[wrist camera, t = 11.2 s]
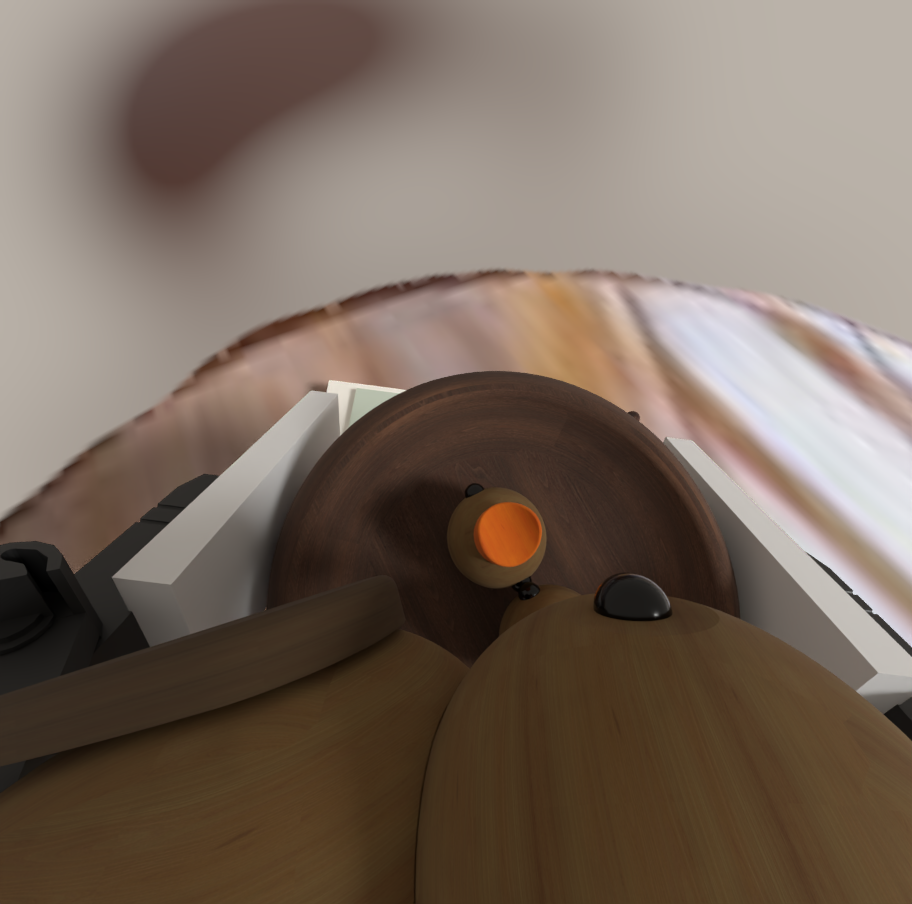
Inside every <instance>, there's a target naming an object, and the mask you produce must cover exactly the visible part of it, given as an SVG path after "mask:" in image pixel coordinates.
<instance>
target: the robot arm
mask: <svg viewBox="0 0 912 904" xmlns="http://www.w3.org/2000/svg"><path fill="white" fill-rule="evenodd" d="M339 436H340V425H339V403H338V394H335V393H327V392H319V391H312V390H311V391H310V392H309V393H308V394H307V395H306V396H305V397H303V398H302V399H301V400H300V401H299V402H298V403H297V404H296V405H295V406H294V407H293V408H292V409H291V410H290V411H289V412H287V413H286V414H285V415H284V416H283V417H282V418H281V419H280V420H279V421H278V422H277V423H276V424H275V425H274V426H273V427H271V428H270V429H269V430H268V431H267V432H266V433H265V434H264V435H263V436H262V437H261V438H260V439H259V440H258V441H257V442H255V443H254V444H253V445H252V446H251V447H250V448H249V449H248V450H247V451H246V452H245V453H244V454H243V455H242V456H241V457H239V458H238V459H237V460H236V461H235V462H234V463H233V464H232V465H231V466H230V467H229V468H228V469H227V470H226V471H225V472H224V473H222V474H221V475H220V476H216V475H208V474H203V475H201V476H199V477H197V478H195V479H193V480H191V481H189V482H187V483H185V484H183V485H181V486H179V487H177V488H176V489H175V490H174V491H172V492H171V493H170V494H169V495H168V496H167V497H165V498H164V499H163V500H162V501H161V502H159V503H158V507H157V508H155V507H154V508H152V509H151V510H150V511H149V512H148V513H146V514H145V515H144V516H143V517H142V518H141V520H140V522H139V523H138V522H136V523H135V524H133V525H132V526H131V527H130V528H129V529H127V530H126V531H125V532H124V533H123V534H122V535H120V536H119V537H118V538H117V539H116V540H114V541H113V542H112V543H111V544H110V545H109V546H107V547H106V548H105V549H104V550H103V551H101V552H100V553H99V554H98V555H97V556H95V557H94V558H93V559H92V560H91V561H90V562H88V563H87V564H86V565H85V566H84V567H82V568H81V569H80V570H79V571H78V572H77V573H75V574H73V572H72V570H71V569H70V567H69V565H68V564H67V562H66V560H65V558H64V557H63V555H62V554H61V553H60V552H59V550H58V549H57V548H56V547H55V546H54V545H51V544H46V543H42V542H37V541H31V542H15V543H8V544H3V545H0V695H3V694H6V693H9V692H12V691H15V690H18V689H21V688H24V687H27V686H31V685H34V684H37V683H40V682H43V681H46V680H49V679H52V678H55V677H59V676H62V675H65V674H68V673H71V672H74V671H77V670H80V669H83V668H86V667H90V666H93V665H96V664H99V663H102V662H105V661H108V660H111V659H115V658H118V657H121V656H124V655H127V654H130V653H133V652H136V651H139V650H143V649H146V648H149V647H152V646H155V645H158V644H161V643H164V642H168V641H171V640H174V639H177V638H180V637H183V636H186V635H189V634H193V633H196V632H199V631H202V630H205V629H208V628H211V627H215V626H218V625H221V624H224V623H227V622H230V621H233V620H237V619H240V618H243V617H246V616H249V615H252V614H255V613H259V612H262V611H264V610H265V608H266V606H267V593H268V584H269V576H270V571H271V565H272V560H273V556H274V552H275V548H276V544H277V541H278V538H279V535H280V532H281V529H282V526H283V523H284V521H285V518H286V516H287V513H288V511H289V509H290V507H291V505H292V502H293V500H294V498H295V497H296V495H297V493H298V491H299V489H300V487H301V486H302V484H303V482H304V481H305V479H306V477H307V476H308V474H309V473H310V471H311V470H312V468H313V467H314V466H315V464H316V463H317V462H318V460H319V459H320V458H321V456H322V455H323V454H324V453H325V452H326V450H327V449H328V448H329V447H330V446H331V445H332V444H333V442H334V441H335V440H336V439H337V438H338V437H339ZM663 443H664V444H665V445H666V446H667V448H668V449H669V450H670V451H671V452H672V453H673V454H674V455H675V456H676V458H677V459H678V460H679V461H680V462H681V464H682V465H683V466H684V468H685V469H686V470H687V472H688V473H689V474H690V476H691V477H692V479H693V480H694V482H695V483H696V485H697V486H698V488H699V489H700V491H701V493H702V494H703V496H704V498H705V499H706V501H707V503H708V505H709V507H710V509H711V511H712V513H713V515H714V517H715V519H716V521H717V523H718V526H719V528H720V530H721V533H722V535H723V538H724V541H725V543H726V546H727V550H728V553H729V556H730V559H731V563H732V567H733V571H734V575H735V580H736V585H737V591H738V598H739V607H740V618H741V620H743V621H745V622H748V623H750V624H752V625H754V626H756V627H758V628H760V629H762V630H764V631H766V632H768V633H770V634H771V635H773V636H775V637H777V638H779V639H781V640H782V641H784V642H786V643H787V644H789V645H791V646H792V647H794V648H796V649H797V650H799V651H801V652H802V653H804V654H805V655H807V656H808V657H810V658H811V659H813V660H814V661H816V662H817V663H819V664H820V665H822V666H823V667H825V668H826V669H827V670H829V671H830V672H831V673H833V674H834V675H835V676H837V677H838V678H839V679H841V680H842V681H844V682H845V683H846V684H848V685H849V686H850V687H851V688H853V689H854V690H855V691H856V692H857V693H859V694H860V695H861V696H862V697H864V698H865V699H866V700H867V701H868V702H870V703H871V704H872V705H873V706H874V707H876V708H877V709H878V710H879V711H880V712H881V713H882V714H883V715H885V716H886V717H887V718H888V719H889V720H890V721H891V722H892V723H893V724H894V725H895V726H897V727H898V728H899V729H900V730H901V731H902V732H903V733H904V734H905V735H906V736H907V737H908V738H909V739H910V740H911V741H912V647H911V646H910V645H909V644H908V643H907V642H906V641H905V640H904V639H902V638H901V637H900V636H899V635H898V634H897V633H896V632H895V631H894V630H893V629H892V628H891V627H890V626H889V625H888V624H887V623H886V622H885V621H884V620H883V619H882V618H881V617H880V616H879V615H878V614H873V613H872V609H871V608H870V607H869V606H868V605H867V604H866V603H865V602H864V601H863V600H862V599H861V598H860V597H859V596H858V595H853V593H852V592H853V590H852V589H851V588H850V587H849V586H848V585H846V584H845V583H844V582H843V581H842V580H841V579H840V578H839V577H838V576H837V575H836V574H835V573H834V572H833V571H832V570H831V569H830V568H828V567H827V566H825V565H824V564H823V563H821V562H820V561H818V560H817V559H815V558H814V557H812V556H811V555H810V554H808V553H807V552H805V551H804V550H803V549H802V548H801V547H800V546H799V545H798V544H797V543H796V542H795V541H794V540H793V539H792V538H791V537H790V536H789V535H788V534H787V533H786V532H785V531H784V530H782V529H781V528H780V527H779V526H778V525H777V524H776V523H775V522H774V521H773V520H772V519H771V518H770V517H769V516H768V515H767V514H766V513H765V512H764V511H763V510H762V509H761V508H760V507H759V506H758V505H757V504H756V503H755V502H754V501H753V500H752V499H751V498H750V497H749V496H748V495H747V494H746V493H745V492H744V491H743V490H742V489H741V488H740V487H739V486H738V485H737V484H736V483H735V482H734V481H733V480H732V479H731V478H730V477H729V476H728V475H727V474H726V473H725V472H724V471H723V470H722V469H721V468H720V467H719V466H718V465H717V464H716V463H715V462H714V461H713V460H712V459H711V458H710V457H709V456H707V455H706V454H705V453H704V452H703V451H702V450H701V449H700V448H699V447H698V446H697V445H696V444H695V443H694V442H693V441H692V440H685V439H677V438H670V437H666V438H665V440H664V442H663ZM58 753H59V752H57V753H53V754H49V755H45V756H42V757H38V758H34V759H30V760H26V761H21V762H17V763H13V764H9V765H4V766H0V793H1V792H3V791H4V790H5V789H7V788H8V787H10V786H11V785H12V784H14V783H15V782H17V781H18V780H20V779H21V778H22V777H24V776H25V775H27V774H28V773H29V772H31V771H32V770H34V769H35V768H37V767H38V766H40V765H41V764H43V763H44V762H46V761H47V760H49V759H50V758H52V757H53V756H55V755H56V754H58Z"/></svg>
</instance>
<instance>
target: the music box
mask: <svg viewBox="0 0 912 904" xmlns="http://www.w3.org/2000/svg"><path fill="white" fill-rule="evenodd" d="M639 420H640V416H639V414H638V413H637V412H634V411H631V412H628V413H627V412H625V411H624V410H622V409H621V408H619V407H617V406H616V405H614V404H612V403H611V402H609V401H607V400H605V399H603V398H602V397H600V396H598V395H595V394H593V393H591V392H589V391H587V390H585V389H582V388H580V387H577V386H575V385H572V384H569V383H566V382H563V381H560V380H556V379H552V378H549V377H544V376H539V375H534V374H528V373H519V372H506V371H485V372H473V373H465V374H458V375H453V376H448V377H444V378H440V379H436V380H433V381H430V382H427V383H424V384H421V385H418V386H416V387H413V388H411V389H408V390H406V391H404V392H402V393H400V394H397V395H396V396H394V397H392V398H390V399H388V400H386V401H385V402H383V403H381V404H380V405H378V406H377V407H375V408H373V409H372V410H371V411H369V412H368V413H366V414H365V415H364V416H362V417H361V418H360V419H359V420H357V421H356V422H355V423H353V424H352V425H351V426H350V427H349V428H348V429H347V430H346V431H345V432H343V433H342V434H341V435H340V436H339V437H338V438H337V439H336V440H335V441H334V442H333V444H332V445H331V446H330V447H329V448H328V449H327V450H326V452H325V453H324V454H323V455H322V456H321V458H320V459H319V460H318V462H317V463H316V464H315V466H314V467H313V468H312V470H311V471H310V473H309V474H308V476H307V477H306V479H305V481H304V482H303V484H302V486H301V487H300V489H299V491H298V493H297V495H296V497H295V498H294V500H293V502H292V505H291V507H290V509H289V511H288V513H287V516H286V518H285V521H284V523H283V526H282V529H281V532H280V535H279V538H278V541H277V544H276V548H275V552H274V556H273V560H272V565H271V571H270V576H269V584H268V593H267V609H266V610H265V611H262V612H259V613H255V614H252V615H249V616H246V617H243V618H240V619H237V620H233V621H230V622H227V623H224V624H221V625H218V626H215V627H211V628H208V629H205V630H202V631H199V632H196V633H193V634H189V635H186V636H183V637H180V638H177V639H174V640H171V641H168V642H164V643H161V644H158V645H155V646H152V647H149V648H146V649H143V650H139V651H136V652H133V653H130V654H127V655H124V656H121V657H118V658H115V659H111V660H108V661H105V662H102V663H99V664H96V665H93V666H90V667H86V668H83V669H80V670H77V671H74V672H71V673H68V674H65V675H62V676H59V677H55V678H52V679H49V680H46V681H43V682H40V683H37V684H34V685H31V686H27V687H24V688H21V689H18V690H15V691H12V692H9V693H6V694H3V695H0V766H4V765H9V764H13V763H17V762H21V761H26V760H30V759H34V758H38V757H42V756H45V755H49V754H53V753H57V752H59V753H58V754H56V755H55V756H53V757H52V758H50V759H49V760H47V761H46V762H44V763H43V764H41V765H40V766H38V767H37V768H35V769H34V770H32V771H31V772H29V773H28V774H27V775H25V776H24V777H22V778H21V779H20V780H18V781H17V782H15V783H14V784H12V785H11V786H10V787H8V788H7V789H5V790H4V791H3V792H1V793H0V904H912V741H911V740H910V739H909V738H908V737H907V736H906V735H905V734H904V733H903V732H902V731H901V730H900V729H899V728H898V727H897V726H895V725H894V724H893V723H892V722H891V721H890V720H889V719H888V718H887V717H886V716H885V715H883V714H882V713H881V712H880V711H879V710H878V709H877V708H876V707H874V706H873V705H872V704H871V703H870V702H868V701H867V700H866V699H865V698H864V697H862V696H861V695H860V694H859V693H857V692H856V691H855V690H854V689H853V688H851V687H850V686H849V685H848V684H846V683H845V682H844V681H842V680H841V679H839V678H838V677H837V676H835V675H834V674H833V673H831V672H830V671H829V670H827V669H826V668H825V667H823V666H822V665H820V664H819V663H817V662H816V661H814V660H813V659H811V658H810V657H808V656H807V655H805V654H804V653H802V652H801V651H799V650H797V649H796V648H794V647H792V646H791V645H789V644H787V643H786V642H784V641H782V640H781V639H779V638H777V637H775V636H773V635H771V634H770V633H768V632H766V631H764V630H762V629H760V628H758V627H756V626H754V625H752V624H750V623H748V622H745V621H743V620H741V618H740V607H739V598H738V591H737V585H736V580H735V575H734V571H733V567H732V563H731V559H730V556H729V553H728V550H727V546H726V543H725V541H724V538H723V535H722V533H721V530H720V528H719V526H718V523H717V521H716V519H715V517H714V515H713V513H712V511H711V509H710V507H709V505H708V503H707V501H706V499H705V498H704V496H703V494H702V493H701V491H700V489H699V488H698V486H697V485H696V483H695V482H694V480H693V479H692V477H691V476H690V474H689V473H688V472H687V470H686V469H685V468H684V466H683V465H682V464H681V462H680V461H679V460H678V459H677V458H676V456H675V455H674V454H673V453H672V452H671V451H670V450H669V449H668V448H667V446H666V445H665V444H664V443H663V442H662V441H661V440H660V439H659V438H657V437H656V436H655V435H654V434H653V433H652V432H651V431H650V430H649V429H648V428H646V427H645V426H644V425H643V424H641V423H640V422H639Z"/></svg>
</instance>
